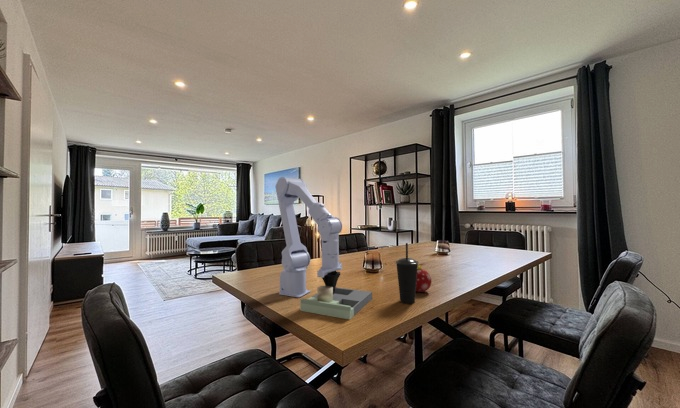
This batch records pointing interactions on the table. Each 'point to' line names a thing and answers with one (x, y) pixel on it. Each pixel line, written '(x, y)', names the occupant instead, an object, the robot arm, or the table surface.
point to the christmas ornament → (422, 280)
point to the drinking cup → (407, 278)
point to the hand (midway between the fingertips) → (330, 294)
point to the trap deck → (338, 303)
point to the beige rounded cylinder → (325, 293)
